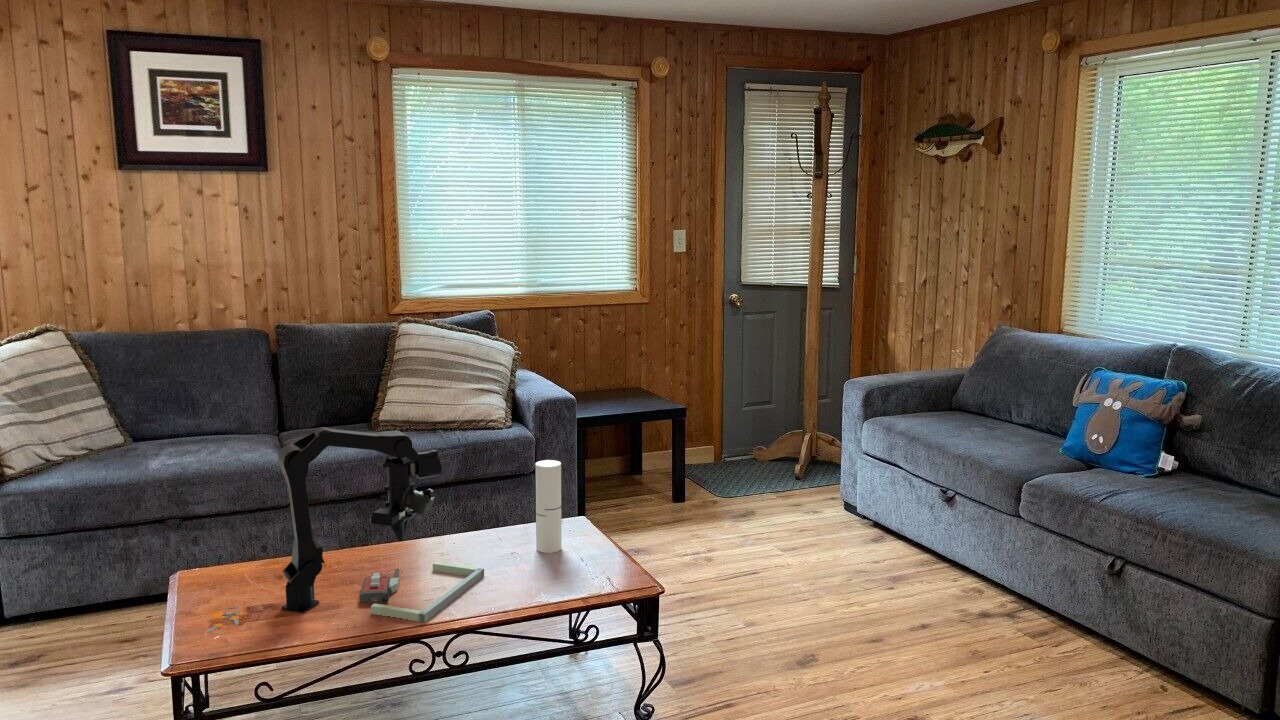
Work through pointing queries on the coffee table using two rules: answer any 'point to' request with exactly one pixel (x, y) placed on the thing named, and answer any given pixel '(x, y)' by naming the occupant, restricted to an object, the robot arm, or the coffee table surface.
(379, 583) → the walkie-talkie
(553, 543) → the cylindrical container
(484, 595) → the coffee table surface
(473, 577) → the green u-shaped bracket
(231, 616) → the key chain
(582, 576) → the coffee table surface
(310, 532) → the robot arm
